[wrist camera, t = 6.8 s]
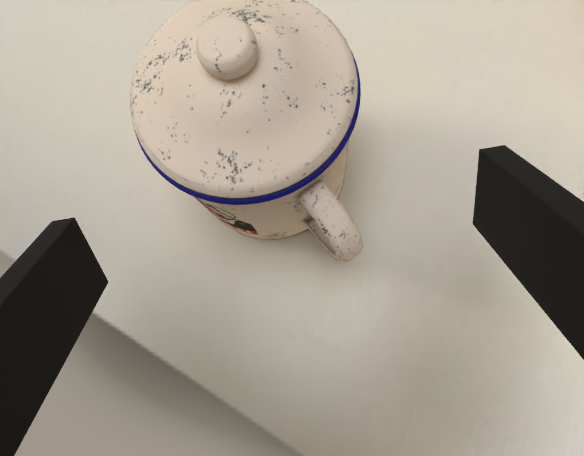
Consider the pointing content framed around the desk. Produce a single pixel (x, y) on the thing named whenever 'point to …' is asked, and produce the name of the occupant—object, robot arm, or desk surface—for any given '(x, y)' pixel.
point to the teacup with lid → (253, 116)
